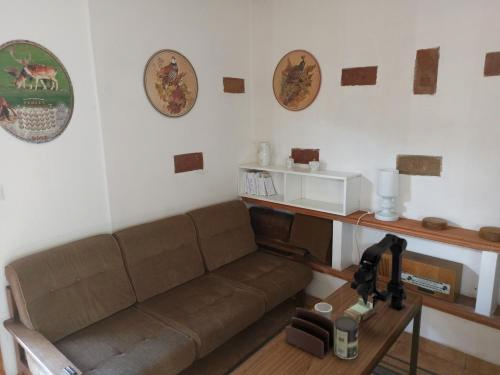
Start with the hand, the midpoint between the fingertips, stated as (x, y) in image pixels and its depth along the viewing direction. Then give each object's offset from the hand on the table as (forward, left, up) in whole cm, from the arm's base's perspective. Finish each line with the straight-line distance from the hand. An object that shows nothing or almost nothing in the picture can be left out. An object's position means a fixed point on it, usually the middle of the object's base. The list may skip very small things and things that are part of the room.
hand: (369, 306), depth 169 cm
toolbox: (-9, -9, -12) cm, 18 cm away
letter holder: (+30, -11, -12) cm, 34 cm away
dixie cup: (+14, -16, -12) cm, 25 cm away
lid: (-9, -9, -9) cm, 16 cm away
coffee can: (+22, +3, -12) cm, 25 cm away
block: (0, -9, -12) cm, 15 cm away
